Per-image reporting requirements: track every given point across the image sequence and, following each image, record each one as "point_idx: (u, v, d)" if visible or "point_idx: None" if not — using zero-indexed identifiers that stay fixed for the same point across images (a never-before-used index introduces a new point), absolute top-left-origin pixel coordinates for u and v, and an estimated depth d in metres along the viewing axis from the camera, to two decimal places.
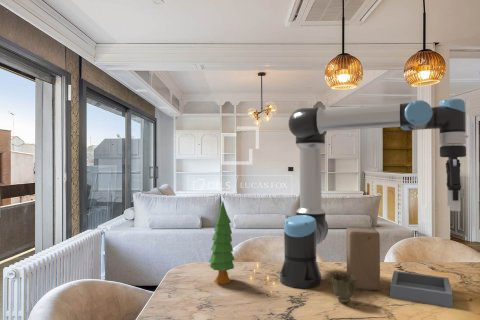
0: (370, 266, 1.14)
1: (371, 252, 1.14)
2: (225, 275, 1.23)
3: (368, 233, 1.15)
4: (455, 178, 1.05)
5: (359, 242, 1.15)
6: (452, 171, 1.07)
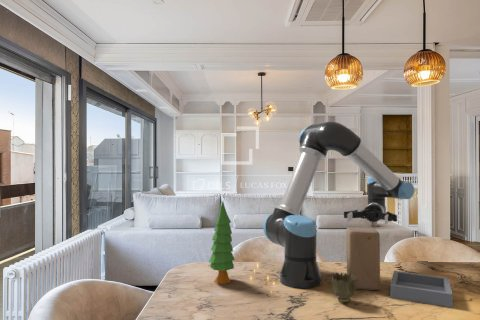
0: (370, 266, 1.14)
1: (371, 252, 1.14)
2: (225, 275, 1.23)
3: (368, 233, 1.15)
4: None
5: (359, 242, 1.15)
6: None
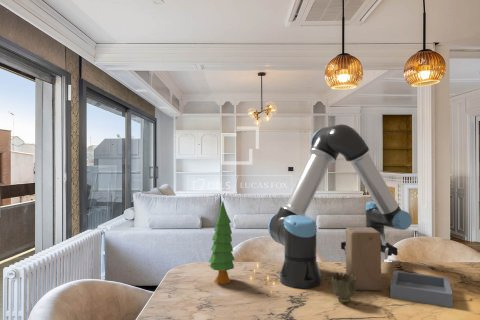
0: (371, 266, 1.14)
1: (372, 253, 1.14)
2: (225, 275, 1.23)
3: (369, 233, 1.14)
4: None
5: (360, 243, 1.14)
6: None
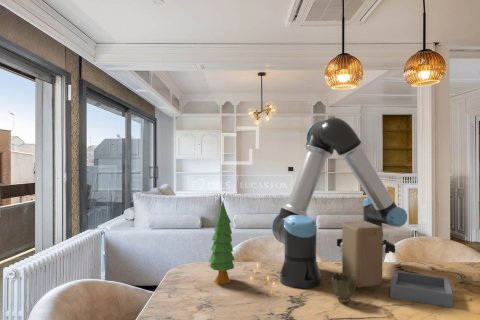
0: (375, 262, 1.12)
1: (376, 248, 1.12)
2: (225, 275, 1.23)
3: (373, 228, 1.11)
4: None
5: (365, 239, 1.11)
6: None
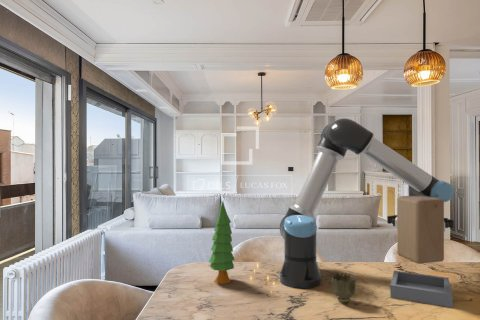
0: (436, 236, 1.04)
1: (437, 221, 1.04)
2: (225, 275, 1.23)
3: (434, 201, 1.04)
4: None
5: (426, 212, 1.03)
6: None
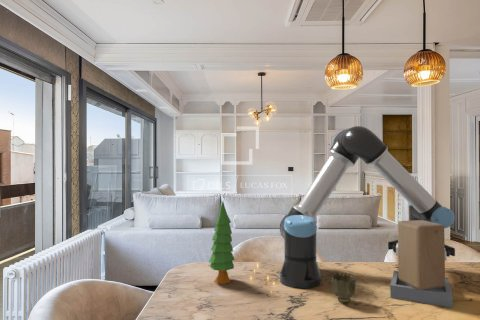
0: (437, 262, 1.04)
1: (438, 247, 1.04)
2: (225, 275, 1.23)
3: (435, 226, 1.05)
4: None
5: (427, 237, 1.04)
6: None
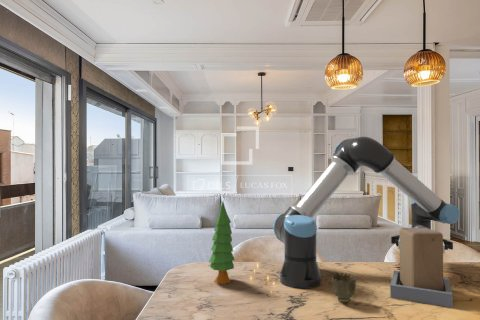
0: (434, 269, 1.07)
1: (435, 255, 1.07)
2: (225, 275, 1.23)
3: (432, 234, 1.07)
4: None
5: (422, 244, 1.07)
6: None
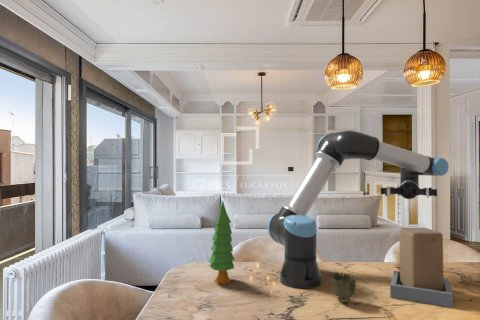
0: (434, 269, 1.07)
1: (435, 255, 1.07)
2: (225, 275, 1.23)
3: (432, 234, 1.07)
4: None
5: (422, 244, 1.07)
6: None
